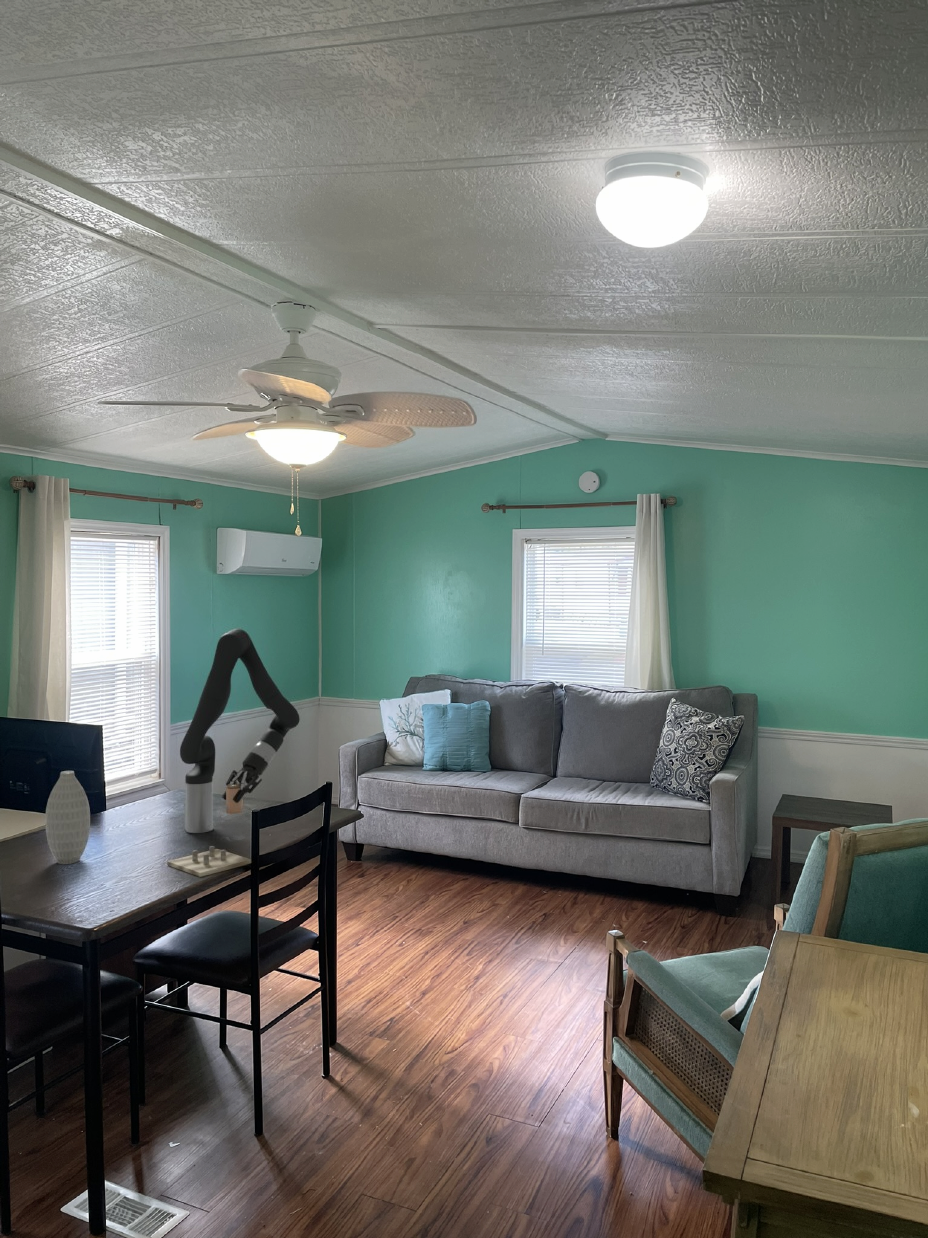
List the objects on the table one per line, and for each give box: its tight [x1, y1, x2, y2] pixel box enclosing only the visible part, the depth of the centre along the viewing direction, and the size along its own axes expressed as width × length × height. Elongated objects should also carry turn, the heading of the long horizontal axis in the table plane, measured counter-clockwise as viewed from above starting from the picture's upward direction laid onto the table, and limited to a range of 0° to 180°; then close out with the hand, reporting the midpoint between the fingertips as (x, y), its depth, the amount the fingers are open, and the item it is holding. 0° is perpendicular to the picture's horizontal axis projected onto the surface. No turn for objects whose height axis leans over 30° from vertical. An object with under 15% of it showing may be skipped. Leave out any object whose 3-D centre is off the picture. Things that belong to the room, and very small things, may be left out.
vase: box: [45, 770, 91, 865], centre depth 283 cm, size 13×13×28 cm
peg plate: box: [166, 845, 252, 878], centre depth 280 cm, size 18×18×4 cm
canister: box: [225, 784, 244, 815], centre depth 296 cm, size 5×5×9 cm
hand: (229, 800), depth 294 cm, fingers closed on canister, 5 cm apart
